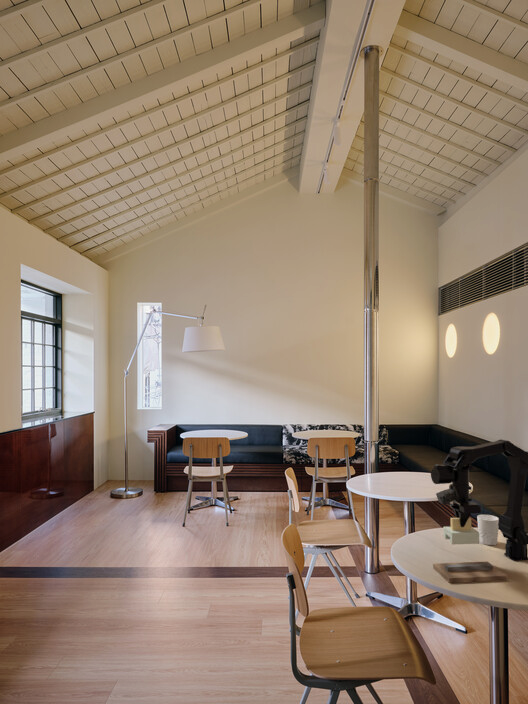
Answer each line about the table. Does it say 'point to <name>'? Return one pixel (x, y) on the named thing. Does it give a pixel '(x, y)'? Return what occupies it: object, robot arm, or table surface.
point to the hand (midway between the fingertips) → (461, 526)
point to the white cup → (488, 529)
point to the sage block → (461, 533)
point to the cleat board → (469, 572)
